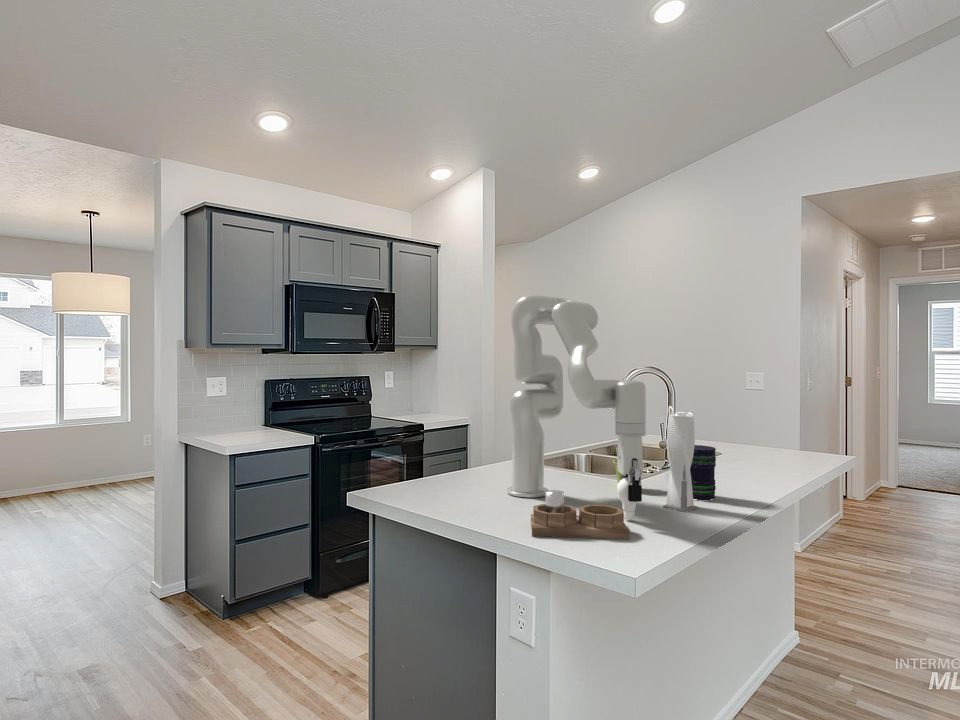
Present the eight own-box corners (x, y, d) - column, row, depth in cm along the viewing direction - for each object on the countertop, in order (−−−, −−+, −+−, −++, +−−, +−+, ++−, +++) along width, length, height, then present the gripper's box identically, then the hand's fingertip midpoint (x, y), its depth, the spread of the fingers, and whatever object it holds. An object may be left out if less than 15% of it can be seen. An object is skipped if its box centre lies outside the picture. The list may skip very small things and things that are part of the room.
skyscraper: (657, 506, 166) (659, 406, 166) (673, 501, 171) (675, 405, 171) (685, 512, 159) (686, 408, 159) (701, 507, 164) (702, 407, 164)
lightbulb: (611, 520, 150) (612, 477, 150) (624, 516, 154) (625, 474, 154) (633, 525, 146) (633, 480, 146) (645, 520, 150) (646, 477, 150)
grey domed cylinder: (544, 518, 143) (545, 489, 143) (563, 519, 143) (563, 490, 143) (545, 523, 139) (546, 493, 139) (564, 524, 139) (564, 494, 139)
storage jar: (704, 502, 170) (704, 450, 170) (674, 496, 178) (674, 446, 178) (721, 497, 177) (722, 447, 177) (691, 491, 184) (692, 444, 184)
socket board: (530, 522, 147) (530, 502, 147) (619, 524, 146) (619, 504, 146) (532, 536, 135) (532, 514, 135) (629, 539, 134) (629, 517, 134)
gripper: (610, 426, 159) (610, 490, 158) (621, 433, 141) (622, 504, 141) (638, 426, 158) (638, 490, 158) (653, 433, 141) (654, 505, 141)
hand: (630, 497), depth 150 cm, fingers open, 9 cm apart
